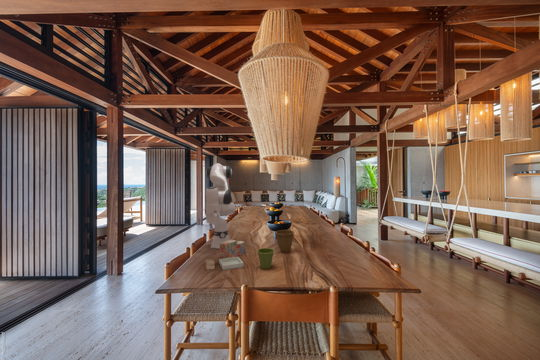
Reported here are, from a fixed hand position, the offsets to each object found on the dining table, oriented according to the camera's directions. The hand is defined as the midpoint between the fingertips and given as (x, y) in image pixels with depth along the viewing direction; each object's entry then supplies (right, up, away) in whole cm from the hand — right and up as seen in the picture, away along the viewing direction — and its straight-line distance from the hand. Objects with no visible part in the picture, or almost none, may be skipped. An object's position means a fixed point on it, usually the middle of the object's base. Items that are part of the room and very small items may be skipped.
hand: (213, 230), depth 162 cm
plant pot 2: (+51, -24, +33) cm, 65 cm away
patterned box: (+10, -25, +23) cm, 35 cm away
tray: (+11, -25, +3) cm, 27 cm away
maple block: (-2, -25, -2) cm, 25 cm away
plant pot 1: (+36, -25, -1) cm, 43 cm away
